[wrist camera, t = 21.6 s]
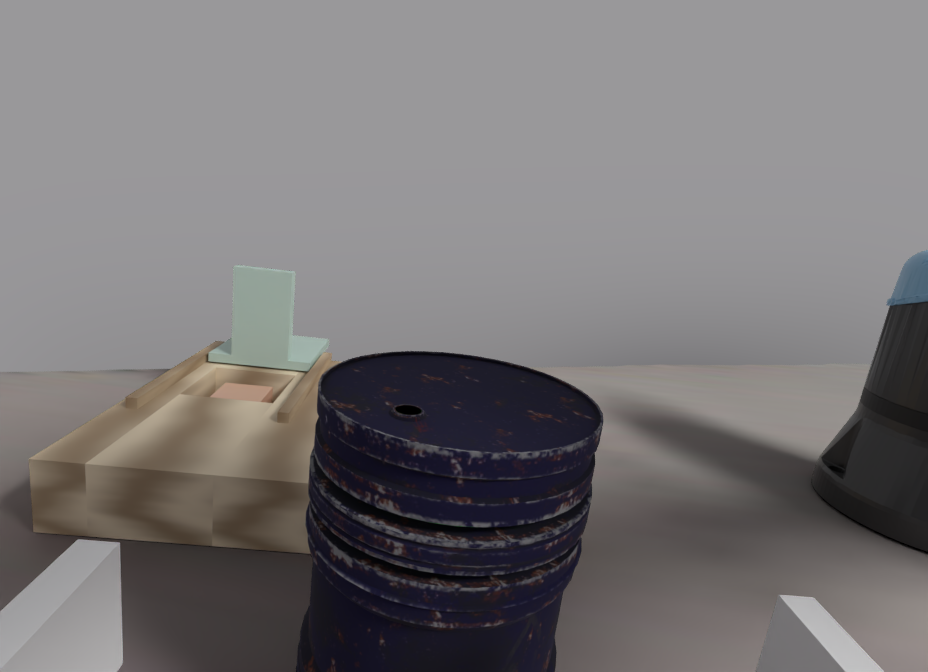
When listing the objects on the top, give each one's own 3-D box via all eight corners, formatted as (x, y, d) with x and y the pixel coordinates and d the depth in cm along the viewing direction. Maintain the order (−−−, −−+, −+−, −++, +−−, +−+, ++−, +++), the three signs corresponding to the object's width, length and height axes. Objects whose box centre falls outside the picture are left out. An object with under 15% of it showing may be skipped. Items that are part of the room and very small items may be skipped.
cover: (328, 346, 59) (334, 264, 57) (309, 371, 50) (315, 276, 48) (243, 337, 58) (245, 254, 56) (208, 361, 49) (210, 263, 47)
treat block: (271, 429, 48) (272, 386, 48) (257, 449, 45) (259, 403, 44) (224, 425, 48) (225, 382, 47) (206, 445, 44) (207, 398, 43)
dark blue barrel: (404, 611, 29) (436, 339, 26) (576, 724, 24) (645, 401, 20) (233, 751, 21) (247, 378, 17) (439, 969, 16) (515, 498, 12)
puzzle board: (501, 421, 57) (509, 371, 56) (546, 572, 34) (560, 493, 32) (206, 391, 55) (206, 339, 53) (33, 532, 31) (27, 445, 30)
